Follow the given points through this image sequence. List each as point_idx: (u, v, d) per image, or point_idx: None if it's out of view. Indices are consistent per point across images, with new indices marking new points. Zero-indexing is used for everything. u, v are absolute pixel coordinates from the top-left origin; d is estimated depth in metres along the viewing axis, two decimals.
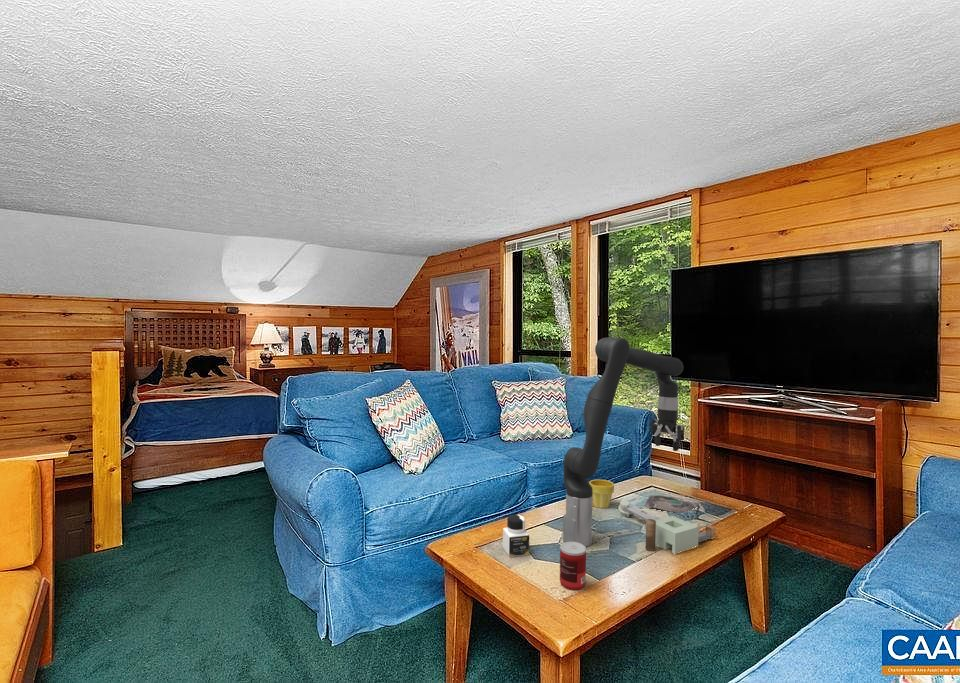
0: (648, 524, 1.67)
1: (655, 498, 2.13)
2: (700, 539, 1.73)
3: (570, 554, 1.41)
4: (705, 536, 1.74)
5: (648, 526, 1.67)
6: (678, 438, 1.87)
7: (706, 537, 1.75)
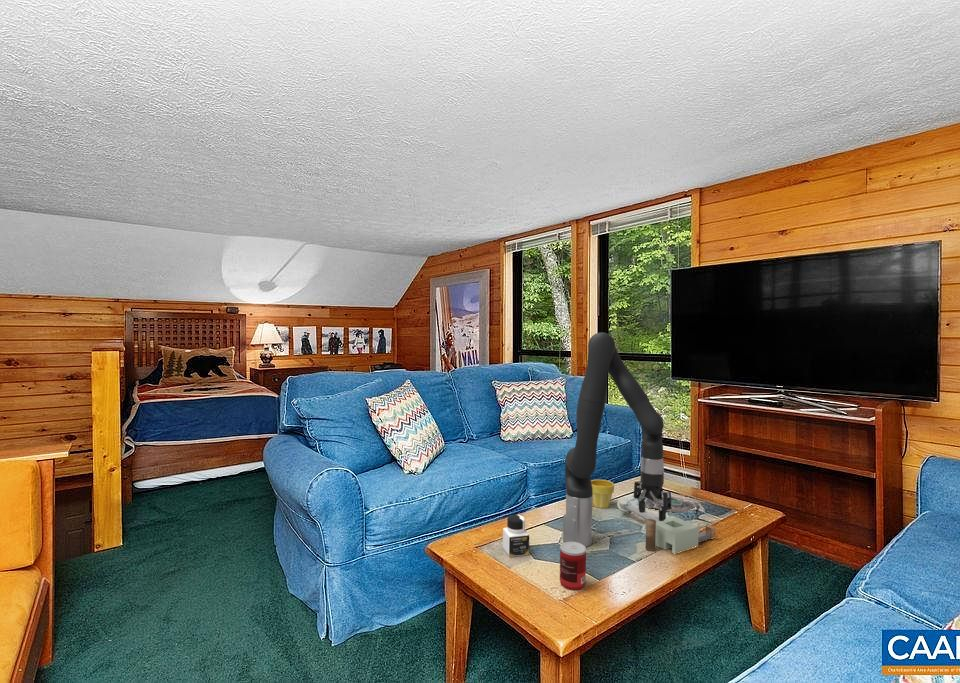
0: (648, 524, 1.67)
1: None
2: (700, 539, 1.73)
3: (570, 554, 1.41)
4: (705, 536, 1.74)
5: (648, 526, 1.67)
6: (664, 507, 1.61)
7: (706, 537, 1.75)
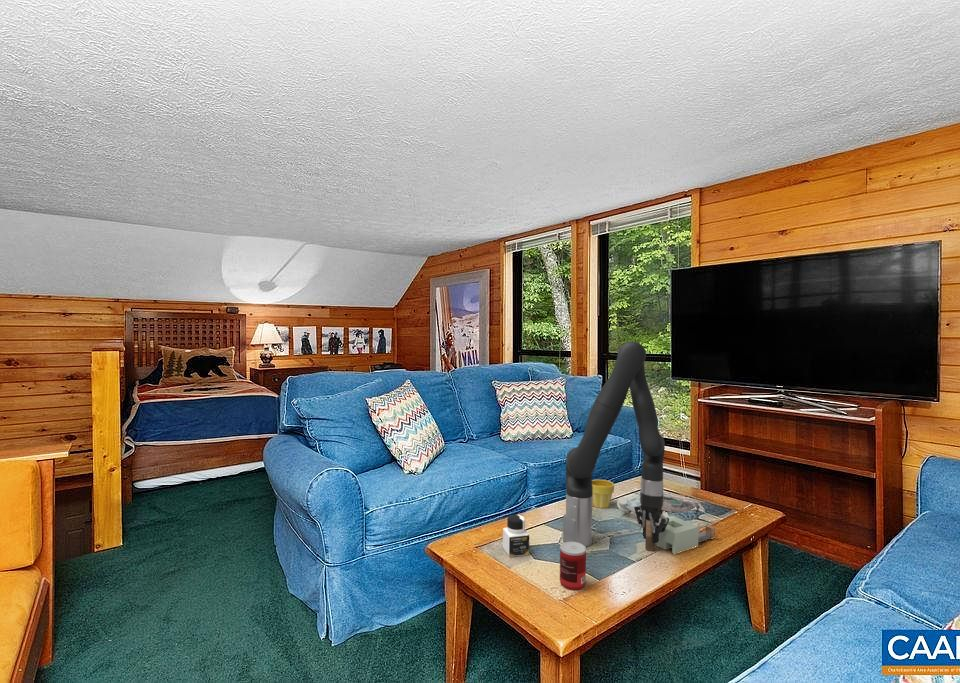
0: (648, 524, 1.67)
1: None
2: (700, 539, 1.73)
3: (570, 554, 1.41)
4: (705, 536, 1.74)
5: (648, 526, 1.67)
6: (658, 530, 1.64)
7: (706, 537, 1.75)
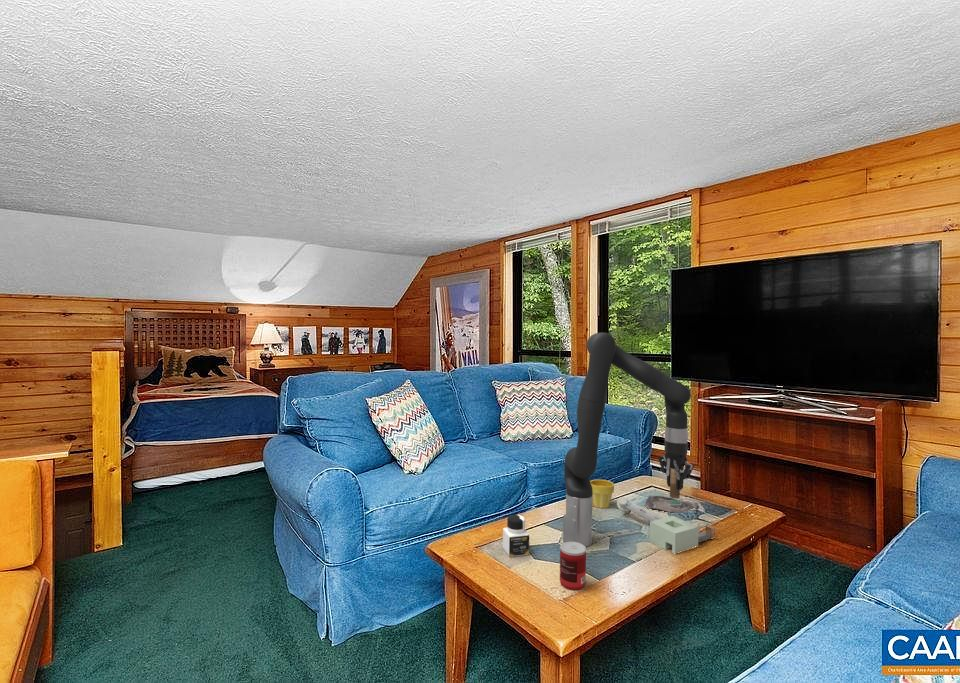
0: (673, 471, 1.70)
1: (654, 498, 2.12)
2: (700, 539, 1.73)
3: (570, 554, 1.41)
4: (705, 536, 1.74)
5: (673, 473, 1.70)
6: (683, 476, 1.67)
7: (706, 537, 1.75)
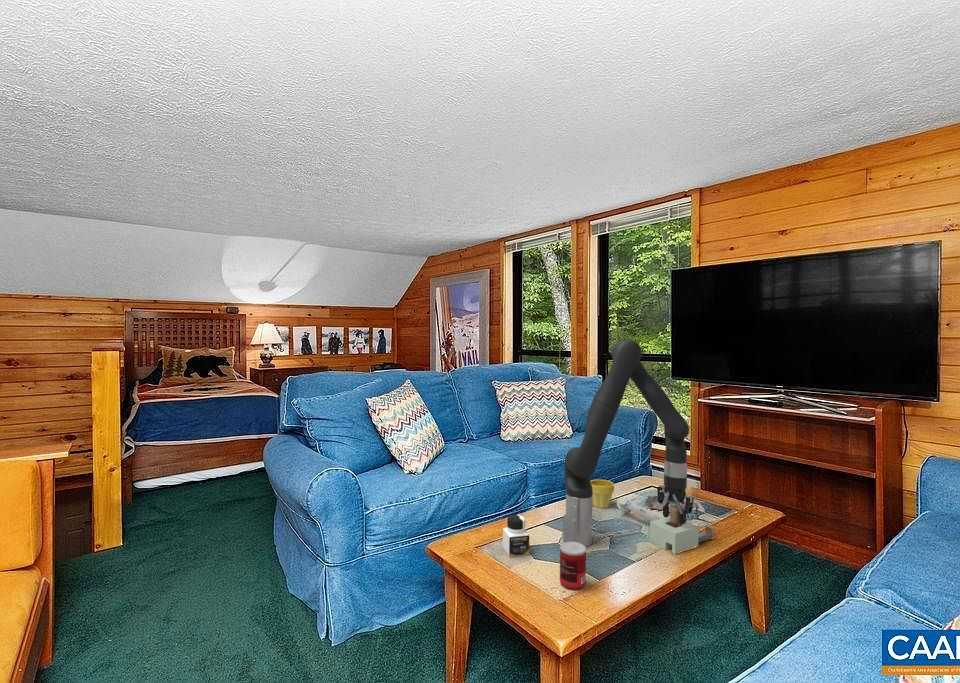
0: (673, 510, 1.71)
1: (654, 499, 2.12)
2: (700, 539, 1.73)
3: (570, 554, 1.41)
4: (705, 536, 1.74)
5: (673, 512, 1.71)
6: (685, 511, 1.66)
7: (706, 537, 1.75)
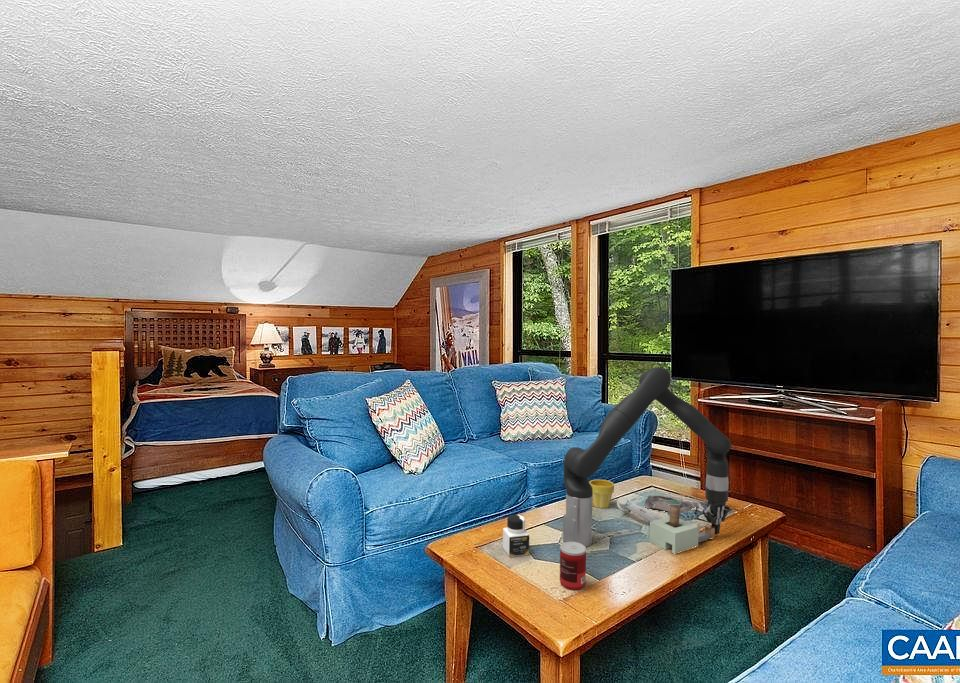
0: (672, 510, 1.71)
1: (654, 498, 2.13)
2: (700, 539, 1.73)
3: (570, 554, 1.41)
4: (704, 536, 1.74)
5: (672, 512, 1.71)
6: None
7: (705, 537, 1.75)
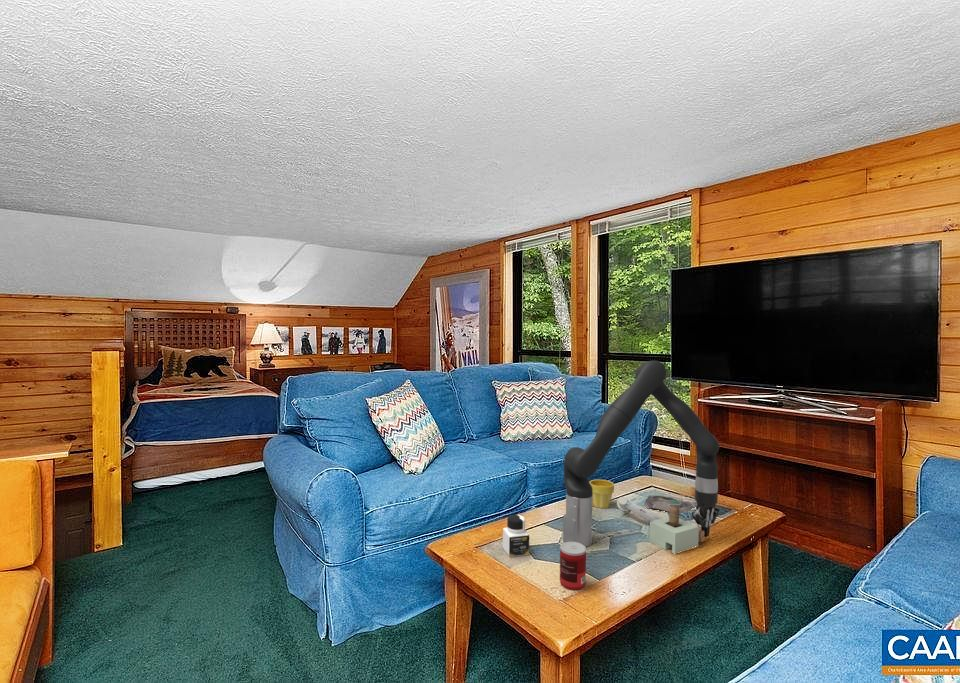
0: (671, 510, 1.71)
1: (654, 498, 2.13)
2: None
3: (570, 554, 1.41)
4: None
5: (671, 512, 1.71)
6: None
7: None
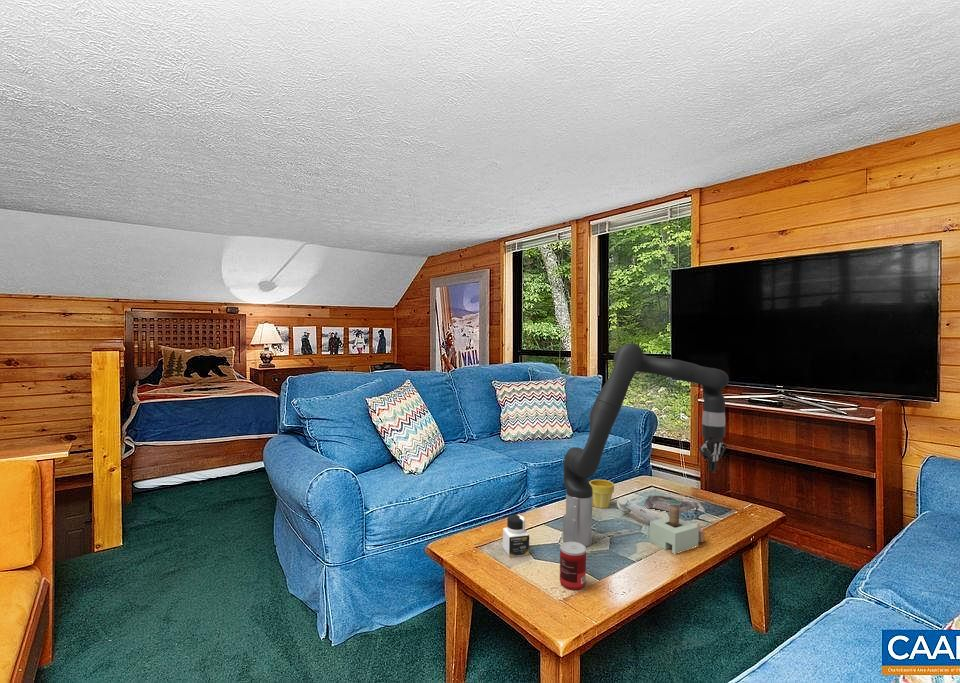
0: (672, 510, 1.71)
1: (654, 498, 2.13)
2: None
3: (570, 554, 1.41)
4: None
5: (671, 512, 1.71)
6: None
7: None
